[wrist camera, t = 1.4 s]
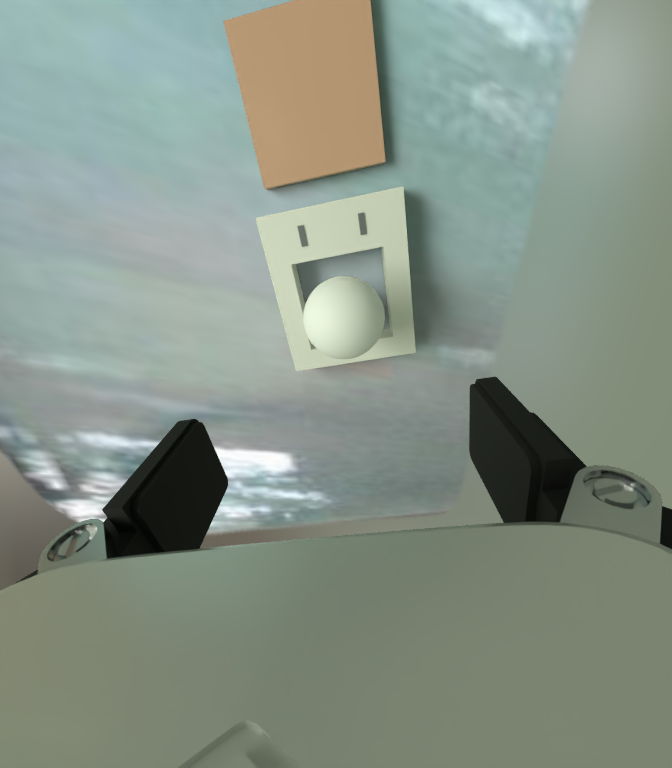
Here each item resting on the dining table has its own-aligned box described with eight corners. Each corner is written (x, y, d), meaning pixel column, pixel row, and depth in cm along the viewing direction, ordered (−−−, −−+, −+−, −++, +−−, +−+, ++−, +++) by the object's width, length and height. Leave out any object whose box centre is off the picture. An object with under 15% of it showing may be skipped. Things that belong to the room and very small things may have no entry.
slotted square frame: (262, 218, 28) (255, 218, 26) (398, 189, 27) (403, 186, 24) (299, 361, 34) (296, 371, 32) (411, 343, 33) (416, 353, 31)
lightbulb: (343, 248, 29) (342, 263, 19) (389, 295, 31) (408, 330, 21) (300, 297, 31) (279, 332, 22) (345, 338, 33) (344, 388, 23)
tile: (228, 28, 23) (223, 20, 22) (367, -12, 22) (368, -22, 21) (267, 189, 27) (264, 188, 26) (384, 163, 26) (385, 161, 25)
